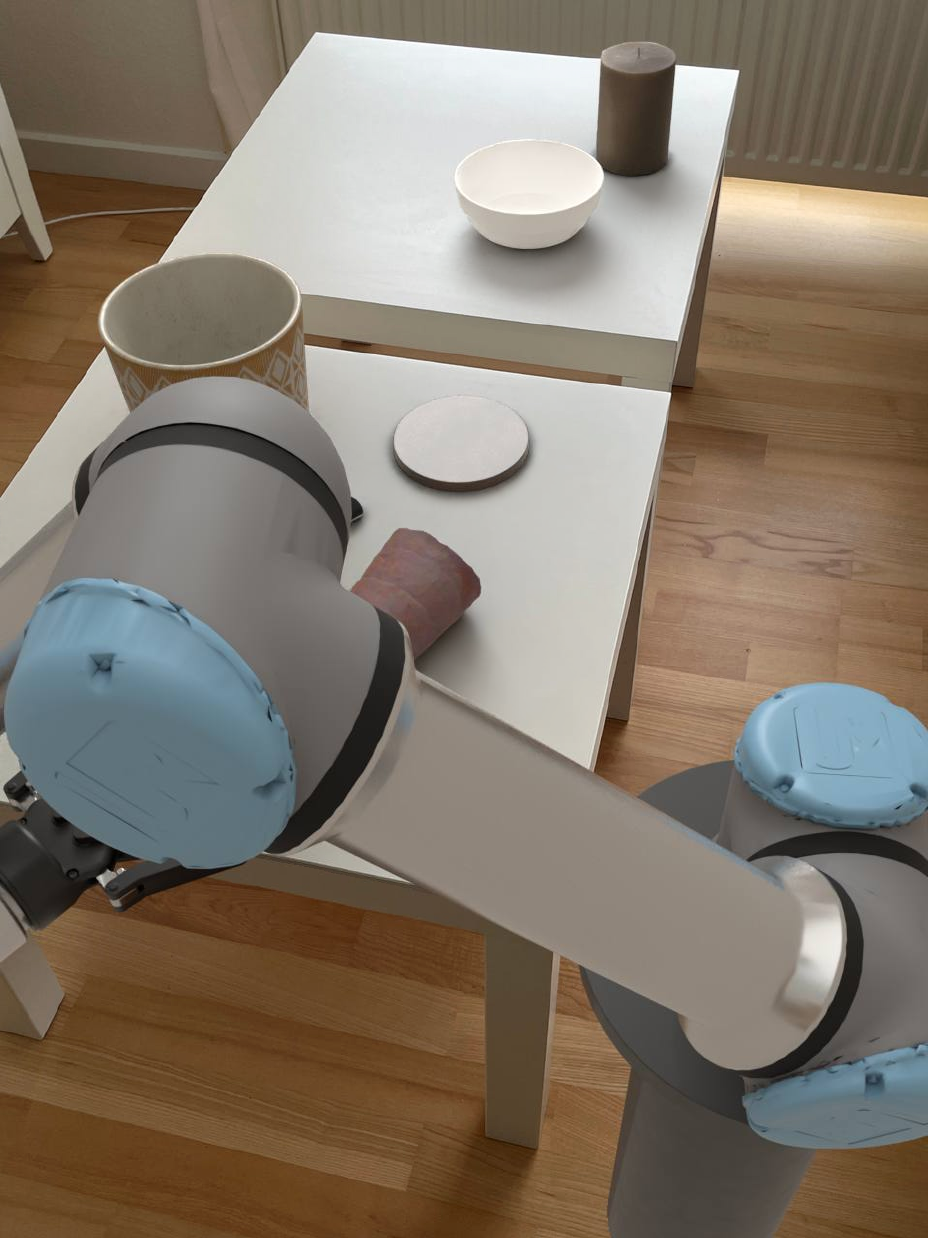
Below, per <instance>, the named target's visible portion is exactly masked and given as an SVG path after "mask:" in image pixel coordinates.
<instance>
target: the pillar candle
mask: <svg viewBox="0 0 928 1238" xmlns="http://www.w3.org/2000/svg"><path fill="white" fill-rule="evenodd" d="M676 64H677V56H676V53H675V52H674V51H673V50H672V49H671V48H669V47H667V46H666V45H663V44H660V43H657V42H651V41H630V42H629V41H627V42H626V41H625V42H622V43H618V44H614V45H611V46H610V47H608V48H606V49H603V50H602V51H601V55H600V68H599V85H598V87H599V88H598V107H597V121H596V139H595V140H596V141H595V143H596V145H595V150H596V151H595V153H596V154H595V159H596V161H597V162H598V163H599V164H600V166H601V168H602V169H604V170H607V171H609V172H610V173H613V174H616V175H620V176H630V177H631V176H641V175H643V176H644V175H650V174H653V173H656V172H658V171H659V170H661V169H662V168H664V166H666V164H667V163H668V157H669V147H670V145H669V144H670V136H671V124H672V112H673V111H672V110H673V102H674V101H673V99H674V90H675V89H674V88H675V76H676Z"/></svg>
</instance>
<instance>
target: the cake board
mask: <svg viewBox="0 0 928 1238" xmlns="http://www.w3.org/2000/svg"><path fill="white" fill-rule="evenodd" d="M392 438H393V439H392V442H393V443H392V446H393V447H392V448H393V455H394V458H395V460H396V463H397V464H398V466H399V468H400V469H401V470H402V472H404V474H406V475H407V476H408V477H409V478H411V480H413V481H415V482H417V483H419V484H421V485H423V486H425V487H429V488H432V489H436V490H440V491H447V492H470V491H471V492H472V491H479V490H483V489H486V488H490V487H493V486H495V485H498V484H500V483H502V482H504V481H505V480H507V479H509V478H510V477H512V476H513V475H515V474H516V472H518V471H519V470H520V468H522V466H523V464H524V463H525V461H526V459H527V457H528V455H529V449H530V433H529V429H528V426H527V424H526V423H525V421H524V419H523V418H522V417H521V415H519V414H518V412H517V411H515V410H514V409H513V408H511V407H510V406H507V404H504V403H502V402H499V401H497V400H494V399H491V398H487V397H483V396H476V395H450V396H444V397H438V398H435V399H432V400H430V401H427V402H424V403H421V404H420V405H418V406H416V407H414V408H413V409H412V410H410V411H409V412H407V413H406V414H405V415H404V416H403V417H402V419H401V420H400V421H399V422H398V424H397V425H396V427H395V430H394V434H393V437H392Z"/></svg>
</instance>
